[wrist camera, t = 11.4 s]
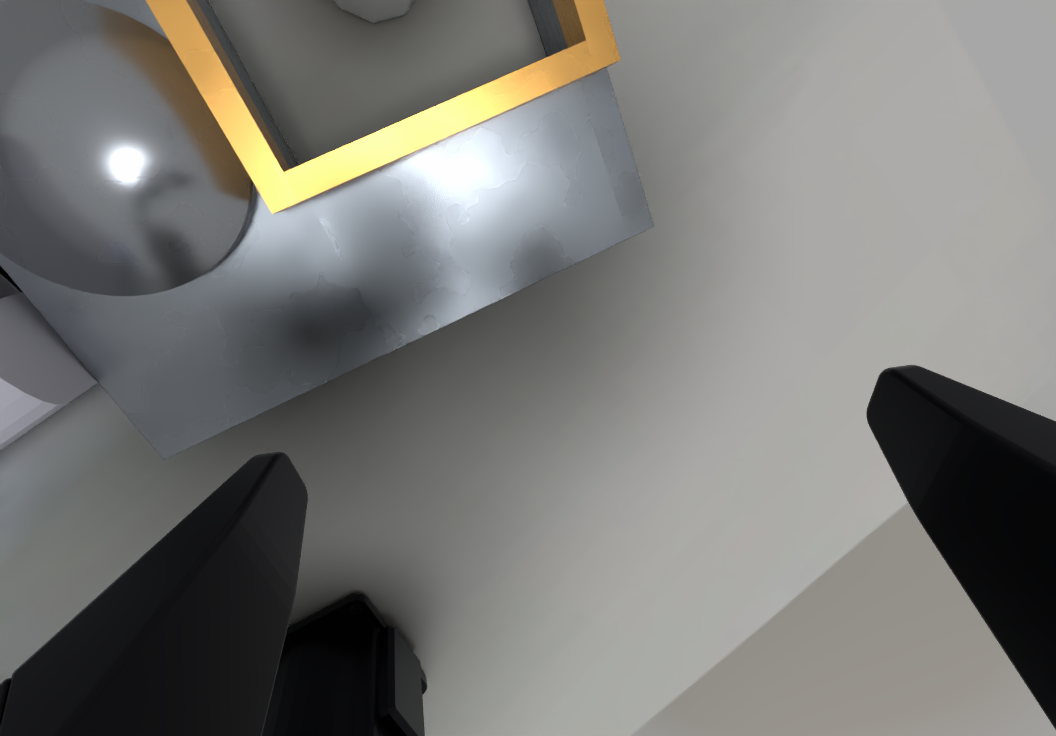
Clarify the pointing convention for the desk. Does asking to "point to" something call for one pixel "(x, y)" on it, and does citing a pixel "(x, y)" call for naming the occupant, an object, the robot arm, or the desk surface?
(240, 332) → the orange-framed metal plate
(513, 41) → the desk surface
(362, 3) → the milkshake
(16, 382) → the charger
